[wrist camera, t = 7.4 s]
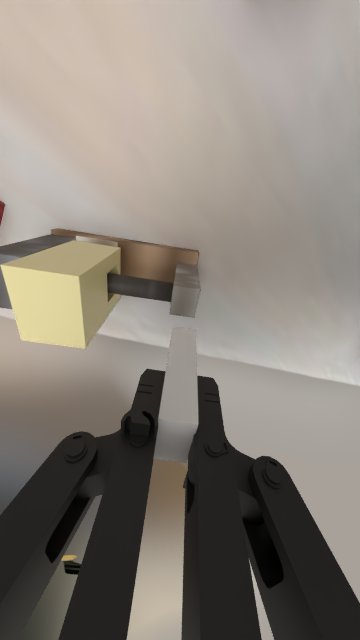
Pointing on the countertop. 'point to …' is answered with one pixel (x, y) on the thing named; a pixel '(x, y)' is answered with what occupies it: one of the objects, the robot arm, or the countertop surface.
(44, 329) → the pale yellow block
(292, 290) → the countertop surface
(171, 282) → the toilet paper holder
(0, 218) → the baking soda box
